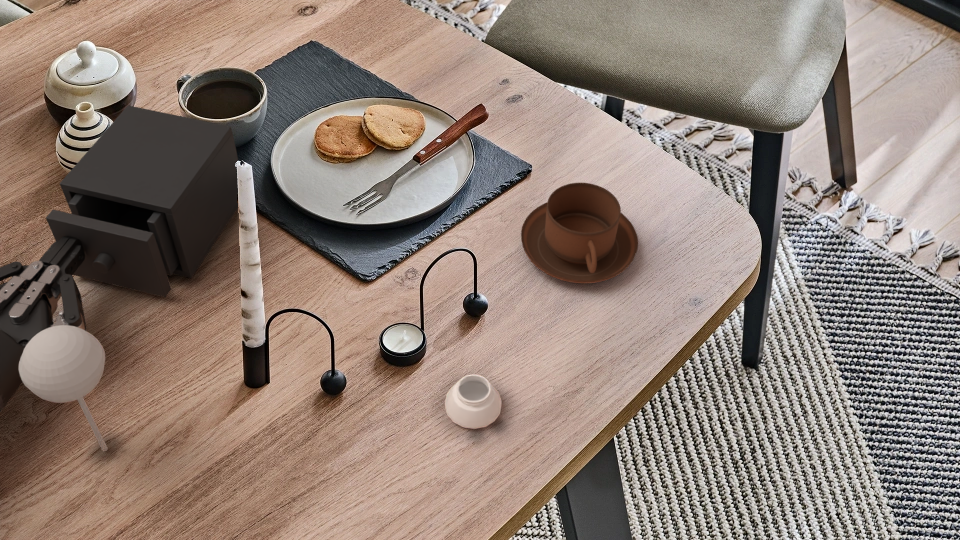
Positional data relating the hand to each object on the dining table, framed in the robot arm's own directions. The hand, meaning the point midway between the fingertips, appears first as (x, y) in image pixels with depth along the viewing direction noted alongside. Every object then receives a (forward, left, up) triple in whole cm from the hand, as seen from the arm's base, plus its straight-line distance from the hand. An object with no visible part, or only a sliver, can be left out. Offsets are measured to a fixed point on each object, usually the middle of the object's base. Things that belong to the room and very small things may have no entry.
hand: (74, 243), depth 89 cm
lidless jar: (+40, -3, -6) cm, 41 cm away
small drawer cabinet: (+3, +10, -6) cm, 12 cm away
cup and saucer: (+45, +19, -6) cm, 49 cm away
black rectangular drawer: (+3, +5, -5) cm, 8 cm away
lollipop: (+11, -16, -6) cm, 21 cm away
